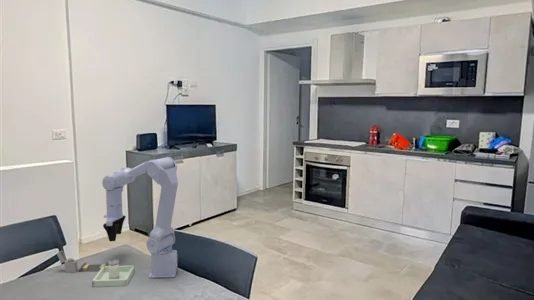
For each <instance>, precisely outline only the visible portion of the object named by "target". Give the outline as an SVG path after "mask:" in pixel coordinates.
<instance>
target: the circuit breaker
mask: <svg viewBox="0 0 534 300" xmlns="http://www.w3.org/2000/svg"><path fill="white" fill-rule="evenodd" d="M56 255H57V257H58V259H59V262H60V263H61V264H63V263H64V272H65V273H71V274H76V273H77V272H78V270H79V268H78V260H75V259H74V258H67V256H66V255H65V253H64V251H63V250H60V251H58V252H57V253H56Z"/></svg>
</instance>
